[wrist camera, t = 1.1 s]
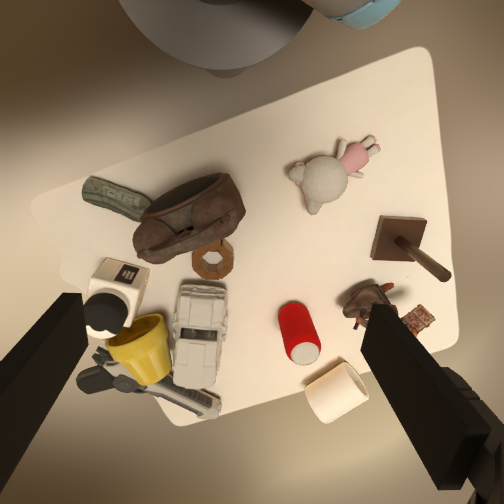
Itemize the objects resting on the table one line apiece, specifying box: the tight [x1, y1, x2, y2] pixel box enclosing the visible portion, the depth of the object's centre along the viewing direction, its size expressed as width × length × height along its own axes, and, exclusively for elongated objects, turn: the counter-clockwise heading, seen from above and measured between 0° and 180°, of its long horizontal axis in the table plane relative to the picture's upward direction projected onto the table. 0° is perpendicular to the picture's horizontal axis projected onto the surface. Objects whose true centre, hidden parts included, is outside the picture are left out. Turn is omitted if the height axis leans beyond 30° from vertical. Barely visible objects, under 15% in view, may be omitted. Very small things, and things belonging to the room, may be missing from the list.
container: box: [83, 258, 149, 339], centre depth 54 cm, size 8×8×13 cm
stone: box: [82, 177, 151, 222], centre depth 53 cm, size 12×2×5 cm
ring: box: [192, 238, 233, 280], centre depth 58 cm, size 7×7×3 cm
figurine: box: [343, 283, 435, 337], centre depth 58 cm, size 14×7×15 cm, turn 80°
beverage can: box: [278, 303, 321, 365], centre depth 60 cm, size 6×6×12 cm
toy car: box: [173, 284, 228, 390], centre depth 60 cm, size 10×20×10 cm, turn 172°
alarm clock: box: [133, 173, 246, 264], centre depth 45 cm, size 15×7×20 cm, turn 113°
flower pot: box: [106, 314, 172, 385], centre depth 60 cm, size 10×10×10 cm
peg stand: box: [370, 216, 451, 282], centre depth 53 cm, size 8×8×15 cm
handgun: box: [76, 347, 222, 419], centre depth 69 cm, size 5×29×15 cm
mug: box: [305, 362, 369, 424], centre depth 71 cm, size 8×10×12 cm
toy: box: [288, 135, 380, 215], centre depth 52 cm, size 8×7×15 cm
